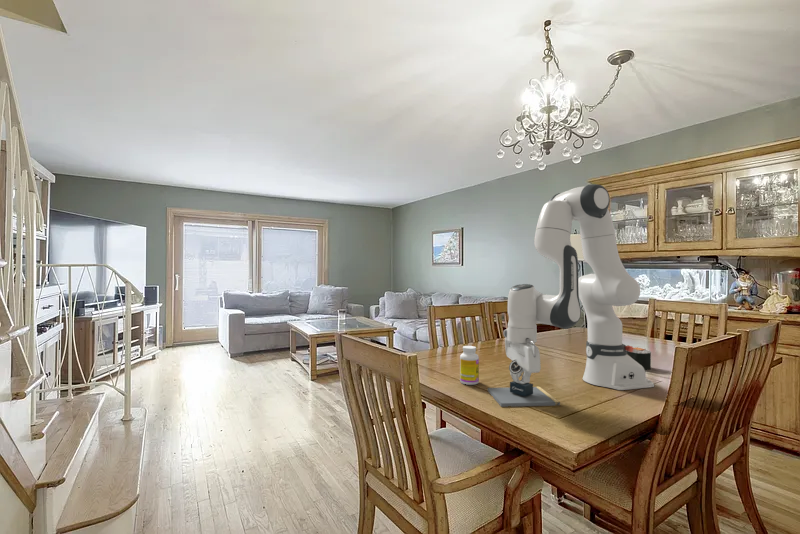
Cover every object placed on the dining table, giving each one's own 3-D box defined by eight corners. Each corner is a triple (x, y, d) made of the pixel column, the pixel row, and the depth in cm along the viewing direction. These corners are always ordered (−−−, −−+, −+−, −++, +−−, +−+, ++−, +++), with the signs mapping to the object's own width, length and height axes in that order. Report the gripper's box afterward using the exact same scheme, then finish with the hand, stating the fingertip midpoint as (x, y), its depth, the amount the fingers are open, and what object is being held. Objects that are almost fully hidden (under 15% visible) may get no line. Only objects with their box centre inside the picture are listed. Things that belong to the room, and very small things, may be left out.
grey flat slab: (539, 389, 127) (539, 386, 127) (559, 405, 113) (559, 401, 113) (487, 390, 126) (487, 387, 126) (501, 406, 112) (501, 403, 112)
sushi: (622, 366, 155) (622, 347, 155) (635, 364, 159) (635, 345, 159) (641, 371, 148) (642, 351, 148) (654, 369, 152) (655, 349, 151)
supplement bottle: (478, 386, 130) (478, 349, 130) (459, 385, 132) (459, 348, 132) (478, 380, 137) (478, 345, 137) (460, 379, 138) (460, 344, 138)
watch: (506, 393, 119) (506, 358, 119) (521, 388, 124) (521, 355, 124) (521, 397, 115) (521, 361, 115) (536, 393, 119) (536, 358, 120)
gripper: (546, 342, 109) (546, 389, 109) (519, 329, 129) (519, 369, 129) (524, 342, 108) (525, 390, 109) (501, 330, 129) (501, 370, 129)
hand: (522, 378), depth 119 cm, fingers closed on watch, 5 cm apart
